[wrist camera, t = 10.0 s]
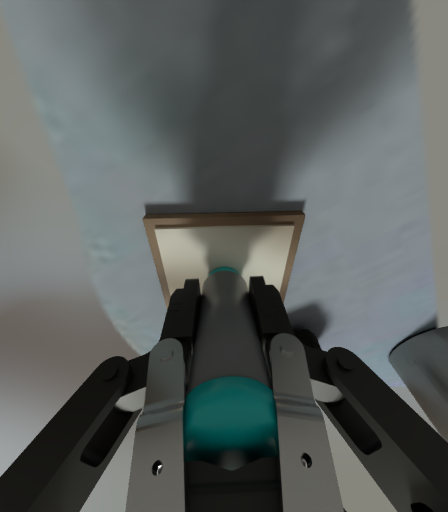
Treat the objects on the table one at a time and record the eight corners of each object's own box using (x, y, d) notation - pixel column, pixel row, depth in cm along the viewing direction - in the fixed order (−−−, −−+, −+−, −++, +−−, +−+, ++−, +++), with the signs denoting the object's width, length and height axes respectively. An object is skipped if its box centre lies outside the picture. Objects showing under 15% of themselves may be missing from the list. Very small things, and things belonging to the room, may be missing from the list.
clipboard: (273, 329, 20) (278, 344, 18) (176, 333, 19) (173, 348, 18) (301, 210, 12) (312, 222, 11) (145, 214, 12) (137, 227, 11)
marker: (254, 277, 14) (310, 438, 6) (228, 306, 15) (241, 482, 6) (219, 253, 13) (219, 399, 5) (194, 286, 14) (157, 456, 6)
